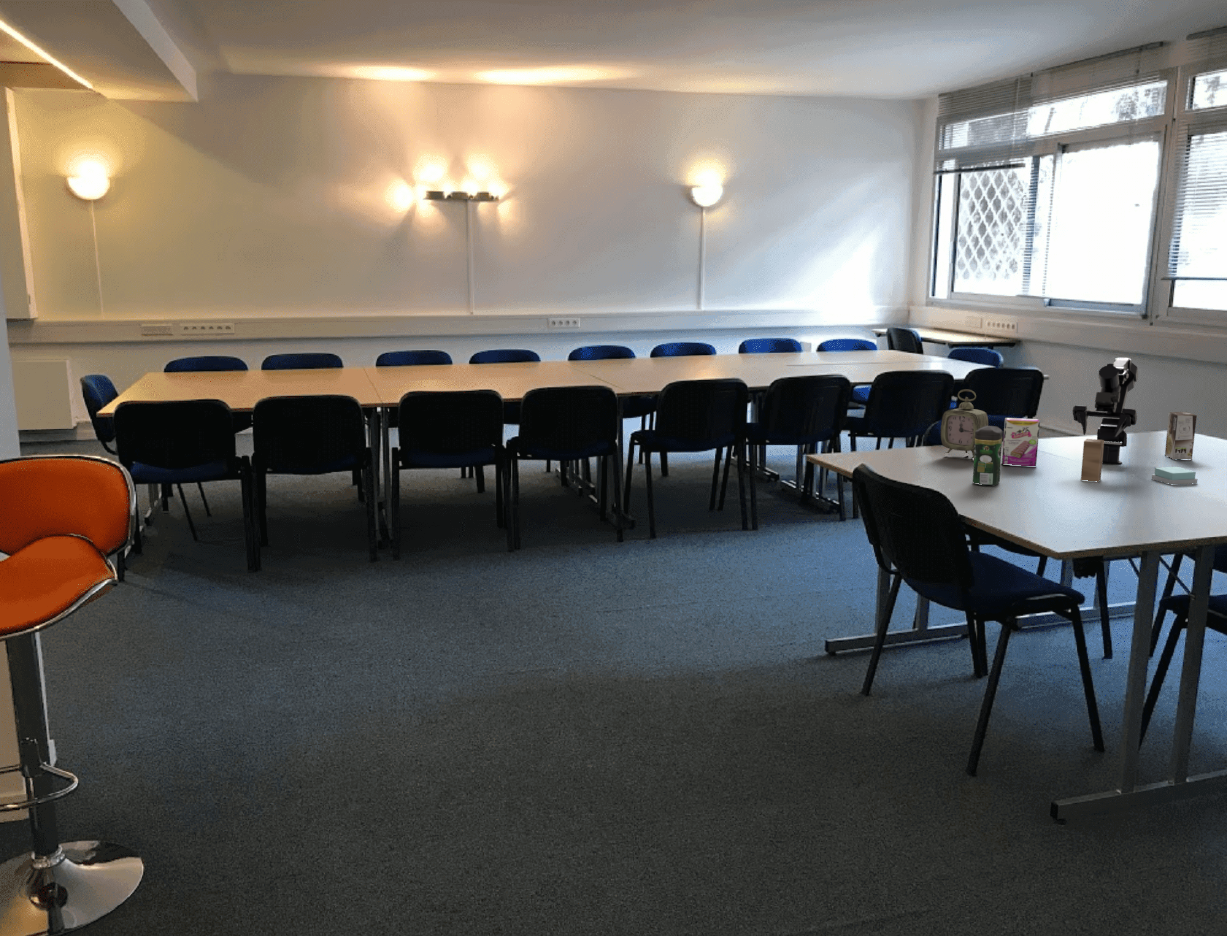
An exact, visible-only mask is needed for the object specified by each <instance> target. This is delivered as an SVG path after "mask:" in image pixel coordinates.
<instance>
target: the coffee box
mask: <svg viewBox="0 0 1227 936" xmlns="http://www.w3.org/2000/svg"><path fill="white" fill-rule="evenodd" d="M1197 417H1198V416H1197V415H1196V414H1194V413H1192V412H1189V411H1168V416H1167V418H1168V419H1167V425H1166V426H1167V428H1166V438H1165V450H1164V451H1165V452H1164V456H1165V455H1166V456H1165V457H1167V456H1168V457H1167V458H1169V457H1170V458H1169V459H1171V458H1172V459H1171V460H1173V459H1191V461H1193V454H1194V447H1195V446H1194V444H1195V443H1194V442H1195V435H1196V428H1197V427H1196V425H1197V419H1198V418H1197Z"/></svg>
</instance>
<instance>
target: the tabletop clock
mask: <svg viewBox="0 0 1227 936" xmlns="http://www.w3.org/2000/svg"><path fill="white" fill-rule="evenodd" d="M963 392H970V393H972V394H973V395H974V398H971V399H969V397H967V396H965V398H962V397H961V396H960V393H963ZM957 398H958V399H959V400H960V401H962V402H961V403H959V405H958V408H954V409H948V410H946V411H944V412H943V414H942V416H941V423H940V424H941V425H940V440H941V445H942V446H943V447H945V448H947V449H948V451H947V452H945V453H950V452H951V451H953V450H955V451H963V452H965V453H968V452H971V454H972V457H971V459H972V458H974V450H975V432H976V430H978V429H980V428H982V427H984V426H989V417H988V414H987V412H985V411H984V410H980V409H974V408H975V407H974V405H973V404H972V402H973V401H975V400H976V399H977V395H976V392H975V391H973V390H972V389H966V388H965V389H961V390H960V391H958V393H957Z"/></svg>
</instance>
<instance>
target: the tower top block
mask: <svg viewBox="0 0 1227 936" xmlns="http://www.w3.org/2000/svg"><path fill="white" fill-rule="evenodd" d="M1154 475H1157V476H1160V477H1164V478H1167V479H1170V480H1184V479H1196V471H1194V470H1191V469H1187V468H1185V467H1184V468H1183V467H1180V466H1167V467H1165V466H1163V467H1155V468H1154Z"/></svg>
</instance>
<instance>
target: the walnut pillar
mask: <svg viewBox="0 0 1227 936" xmlns="http://www.w3.org/2000/svg"><path fill="white" fill-rule="evenodd" d="M1103 448H1104V440H1097V438H1096V439H1093V438H1086V439H1085V440H1083V448H1082V449H1083V450H1082V460H1081V461H1082V462H1081V472H1080V481H1081V480H1088V481H1097V482H1098V481H1099V480H1100V481H1101V480H1102V470H1103V463H1102V460H1103ZM1100 481H1099V482H1100ZM1097 482H1096V483H1097ZM1099 482H1098V483H1099Z"/></svg>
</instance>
